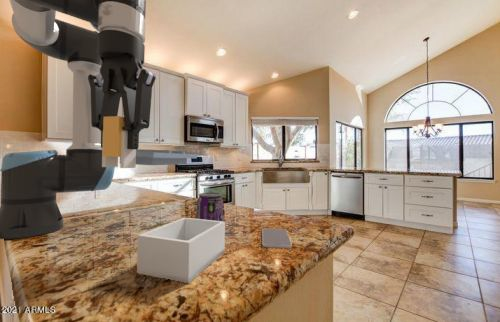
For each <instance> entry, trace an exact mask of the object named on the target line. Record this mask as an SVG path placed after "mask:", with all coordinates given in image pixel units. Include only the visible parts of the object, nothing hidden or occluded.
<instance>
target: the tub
mask: <svg viewBox="0 0 500 322" xmlns="http://www.w3.org/2000/svg"><path fill="white" fill-rule="evenodd" d="M225 239H226V221H224V220H223V221H214V220H204V219H197V218H193V217H182V218H180V219H177V220H174V221H172V222H170V223H167V224H164V225H161V226H159V227H157V228H153V229H151V230H147V231H146V232H143V233H141V234H138V235H137V256H136V258H137V259H136V261H137V262H136V273H137V274H140V275H145V276H150V277H153V278H160V279H163V278H165V280H168V279H170V280H169V281H173V280H175V282H178V281H179V282H178V283H183V282H184V283H183V284H188V283H189V284H191V282H193V280H194V279H195V278H197V276H199V275H200V274H201V273H203V271H204V270H206V269H207V268H208V267H209V266H210V265H211V264H212V263H214V262H215V261H216V260H217V259H218V258H220V257H221V256H222V255H223V253H225V251H226V249H225V247H226V243H225V242H226V240H225Z"/></svg>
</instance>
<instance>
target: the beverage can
mask: <svg viewBox="0 0 500 322" xmlns="http://www.w3.org/2000/svg"><path fill="white" fill-rule="evenodd" d="M223 213H224V199H223V197H222V193H220V192H201V193H199V194H198V198H197V200H196V219H204V220H214V221H223V222H224V216H223V215H224V214H223Z"/></svg>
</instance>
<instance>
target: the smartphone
mask: <svg viewBox="0 0 500 322" xmlns="http://www.w3.org/2000/svg"><path fill="white" fill-rule="evenodd" d="M261 233H262V234H261V237H262V239H261V240H262V241H261V242H262V244H261V245H262V247H263V248H277V249H291V248H293V245H292V241H291V239H290V236H289V234H288V231H287V229H285V228H267V227H266V228H265V227H264V228H262V232H261Z"/></svg>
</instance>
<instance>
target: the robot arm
mask: <svg viewBox="0 0 500 322" xmlns="http://www.w3.org/2000/svg"><path fill="white" fill-rule="evenodd" d="M9 2H10V6H11V9H12V11H13V14H12V15H11V25H12V27H13V30H14V32H15V33H16V35H17V36H18V37H19V38H20V39H21V40H22V41H23V42H24V43H26V44H27V45H28V46H29V47H31V48H33V49H34V50H35V51H38V52H40V53H41V54H43V55H46V56H48V57H50V58H52V59H56V60H60V61H65V62H67V64H66V65H67V68H68V70H70V71H71V72H72V73H73V75H72V76H73V77H72V81H73V83H72V138H71V139H72V144H71V145H70V146H68V147H67V148H66V150H65V153H66V154H59V153H58V151H57V150H55V149H49V150H47V149H45V150H31V151H17V152H8V153H6V154H5V155H3V157H2V160H1V168H0V172H1V174H0V176H1V179H0V180H1V184H0V185H1V186H0V187H1V188H0V240H8V239H9V240H10V239H11V240H12V239H21V238H22V239H24V238H28V237H29V238H30V237H37V236H41V235H42V236H43V235H45V234H49V233H52V232H56V231H58V230H61V229H62V228H63V227H64V218H63V216H62V213H61V211H60V209H59V206H58V203H57V194H59V193H60V194H61V193H77V192H95V191H103V190H107V189H109V188H110V186H111V184H112V181H113V179H114V174H115V170H116V169H115V168H117V167H119V166H120V169H136V168H137V167H136V166H137V165H136V149H139V145H140V144H139V143H140V141H139V139H140V132H141V131H142V130H144V129H149V127H150V123H151V122H150V119H151V108H152V106H151V105H152V93H153V86H154V83H155V80H156V78H157V77H156V76H157V75H156V74H155V73H153V72H151V71H149V70H147V69H144V68H143V65H144V64H145V51H146V50H145V48H146V46H145V44H144V43H145V42H146V7H147V5H146V4H147V1H146V0H9ZM57 12H58V13H62V14H63V15H68V16H70V17H73V18H75V19H79V20H82V21H84V22H88V23H89V24H90V25H91V26H92V27H93V29H95V30H91V29H88V28H84V27H82V26H80V25H79V26H78V25H76V24H73V23H70V22H67V21H63V20H61V19H58V18H56V13H57ZM120 101H121V105H122V112H123V117H124V122H125V126H124V127H122V129H123V130H127V131H121V160H120V159H119V157H111V156H103V119H104V117H110V116H119V115H118V114H119V113H118V112H119V107H120ZM132 122H133V123H132Z"/></svg>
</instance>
